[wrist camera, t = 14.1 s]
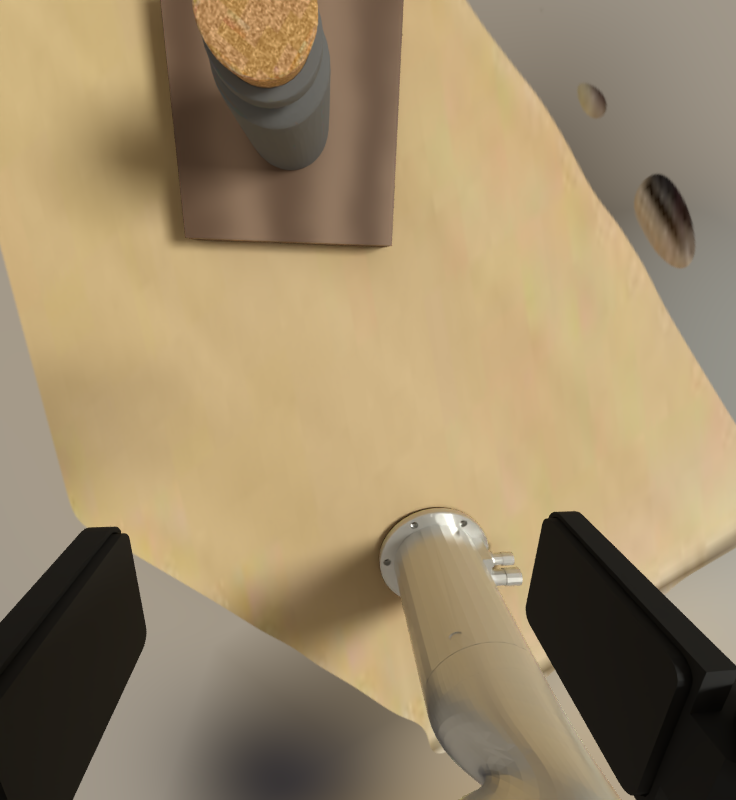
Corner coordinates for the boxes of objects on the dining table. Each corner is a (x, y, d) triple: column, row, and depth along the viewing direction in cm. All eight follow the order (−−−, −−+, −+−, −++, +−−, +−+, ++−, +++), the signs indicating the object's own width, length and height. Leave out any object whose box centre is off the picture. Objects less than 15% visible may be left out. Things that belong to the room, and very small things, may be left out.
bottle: (344, 138, 30) (362, 32, 16) (282, 188, 31) (247, 130, 17) (294, 57, 28) (264, -144, 14) (229, 112, 29) (138, -26, 15)
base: (396, 19, 30) (403, -6, 28) (386, 246, 36) (391, 245, 33) (173, -4, 29) (157, -32, 26) (196, 239, 34) (185, 237, 31)
